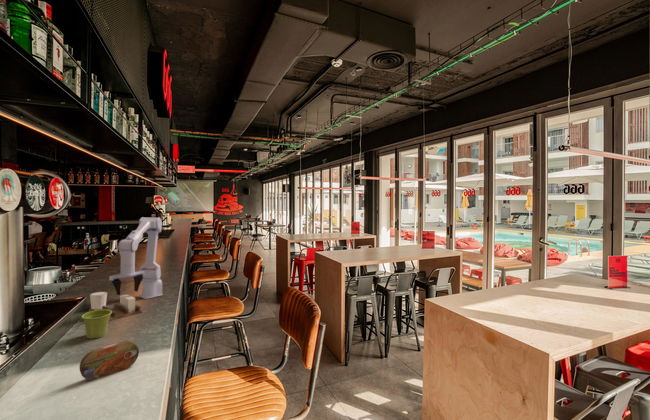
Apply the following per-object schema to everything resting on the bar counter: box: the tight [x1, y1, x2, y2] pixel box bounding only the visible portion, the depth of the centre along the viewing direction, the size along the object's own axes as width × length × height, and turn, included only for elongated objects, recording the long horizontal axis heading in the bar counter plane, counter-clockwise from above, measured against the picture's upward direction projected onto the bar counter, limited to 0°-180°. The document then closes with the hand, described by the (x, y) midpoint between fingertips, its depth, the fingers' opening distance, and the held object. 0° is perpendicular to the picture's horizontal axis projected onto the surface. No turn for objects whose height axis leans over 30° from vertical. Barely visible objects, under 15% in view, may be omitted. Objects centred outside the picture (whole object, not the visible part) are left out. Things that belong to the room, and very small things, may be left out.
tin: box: [78, 340, 140, 381], centre depth 94 cm, size 15×3×8 cm, turn 139°
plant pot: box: [81, 309, 112, 340], centre depth 118 cm, size 9×9×9 cm
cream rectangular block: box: [119, 294, 136, 312], centre depth 145 cm, size 3×9×6 cm, turn 55°
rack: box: [88, 302, 143, 322], centre depth 141 cm, size 17×14×3 cm
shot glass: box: [89, 291, 108, 310], centre depth 149 cm, size 7×7×7 cm
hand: (127, 292), depth 145 cm, fingers open, 7 cm apart
